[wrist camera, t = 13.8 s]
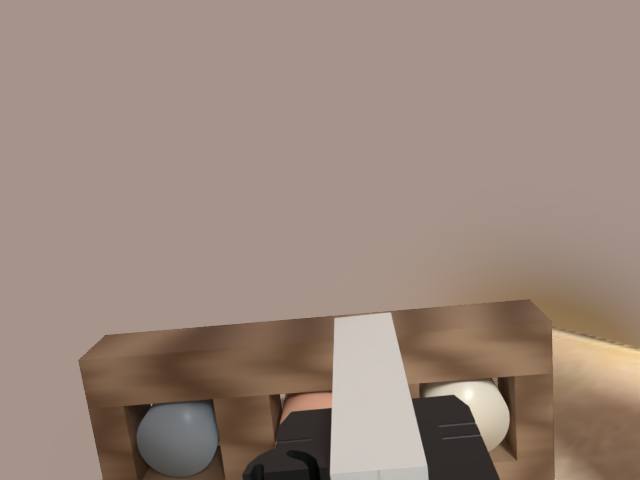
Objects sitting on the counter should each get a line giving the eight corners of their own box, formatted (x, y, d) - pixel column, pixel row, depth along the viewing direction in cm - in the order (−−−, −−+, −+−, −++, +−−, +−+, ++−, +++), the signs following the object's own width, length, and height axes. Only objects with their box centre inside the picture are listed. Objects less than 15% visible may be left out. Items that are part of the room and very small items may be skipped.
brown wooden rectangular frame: (528, 502, 41) (522, 292, 38) (565, 579, 34) (561, 331, 31) (152, 525, 43) (114, 327, 40) (115, 603, 36) (66, 371, 33)
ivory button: (477, 386, 43) (474, 324, 42) (511, 454, 35) (508, 379, 34) (411, 391, 44) (407, 330, 43) (428, 460, 35) (423, 385, 34)
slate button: (245, 403, 45) (236, 344, 44) (221, 474, 36) (209, 402, 35) (182, 408, 45) (172, 349, 44) (143, 479, 36) (130, 408, 35)
